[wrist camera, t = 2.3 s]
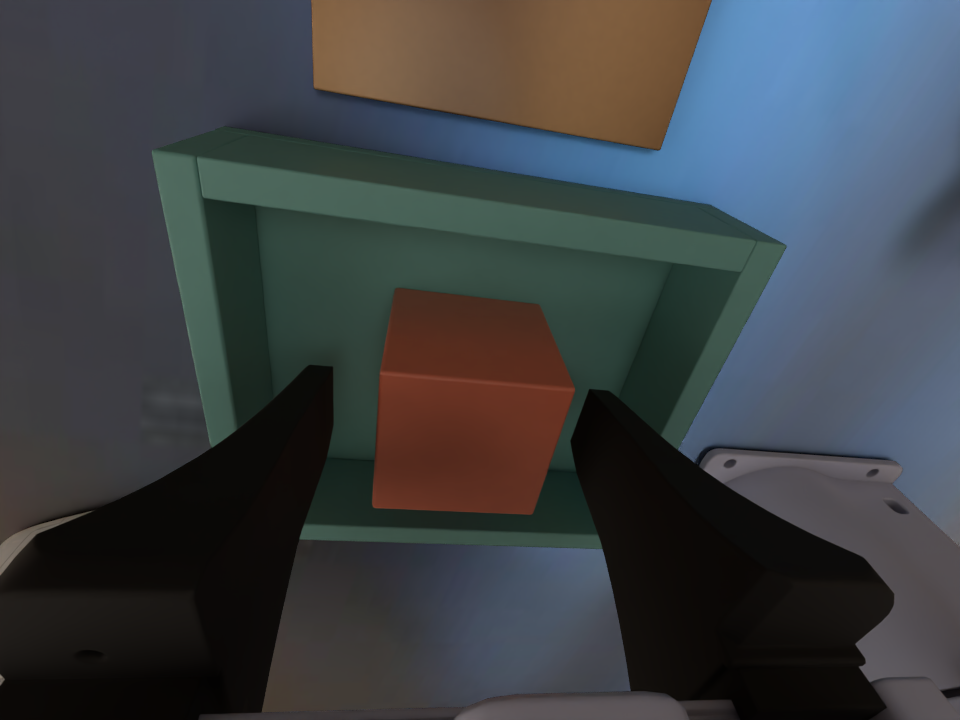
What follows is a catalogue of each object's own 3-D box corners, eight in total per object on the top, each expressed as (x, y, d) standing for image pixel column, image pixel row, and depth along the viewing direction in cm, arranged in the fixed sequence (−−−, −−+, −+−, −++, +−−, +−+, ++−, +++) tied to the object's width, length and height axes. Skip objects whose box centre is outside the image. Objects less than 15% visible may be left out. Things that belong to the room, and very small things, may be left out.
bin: (711, 204, 14) (788, 245, 11) (595, 476, 20) (624, 550, 17) (223, 125, 12) (148, 149, 9) (263, 456, 18) (228, 538, 15)
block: (540, 303, 14) (577, 389, 11) (511, 413, 17) (533, 516, 13) (395, 286, 14) (379, 372, 10) (386, 404, 16) (371, 509, 12)
